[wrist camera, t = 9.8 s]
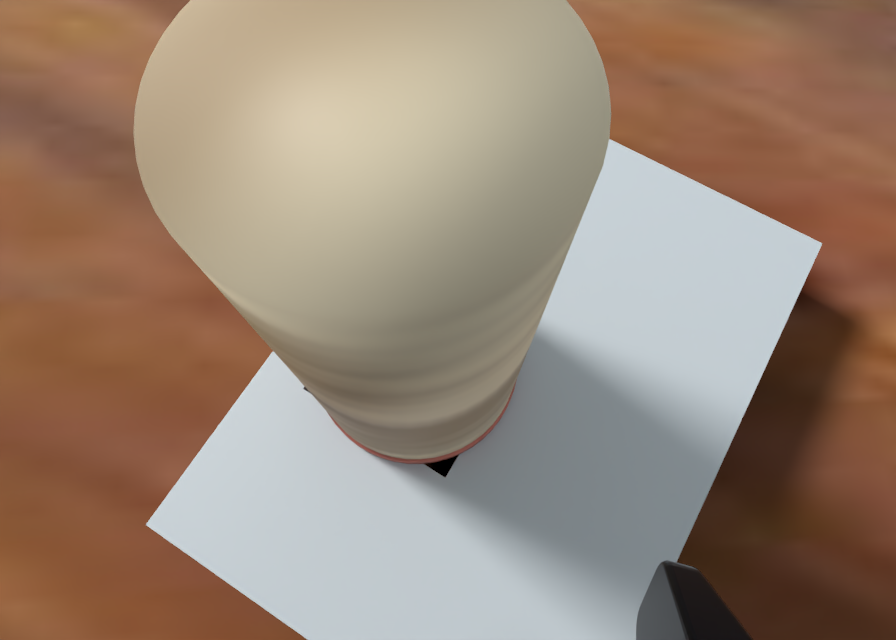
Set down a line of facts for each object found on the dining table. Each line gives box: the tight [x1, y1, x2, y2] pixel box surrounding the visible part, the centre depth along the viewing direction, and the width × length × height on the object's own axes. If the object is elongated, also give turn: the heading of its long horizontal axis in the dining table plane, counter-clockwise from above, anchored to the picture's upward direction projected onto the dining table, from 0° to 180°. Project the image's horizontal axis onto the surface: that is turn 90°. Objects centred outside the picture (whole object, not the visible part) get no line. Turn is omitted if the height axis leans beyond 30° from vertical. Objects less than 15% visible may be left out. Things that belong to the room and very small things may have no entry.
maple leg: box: [134, 0, 611, 464], centre depth 13 cm, size 5×5×13 cm
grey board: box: [146, 139, 822, 640], centre depth 18 cm, size 12×16×2 cm
